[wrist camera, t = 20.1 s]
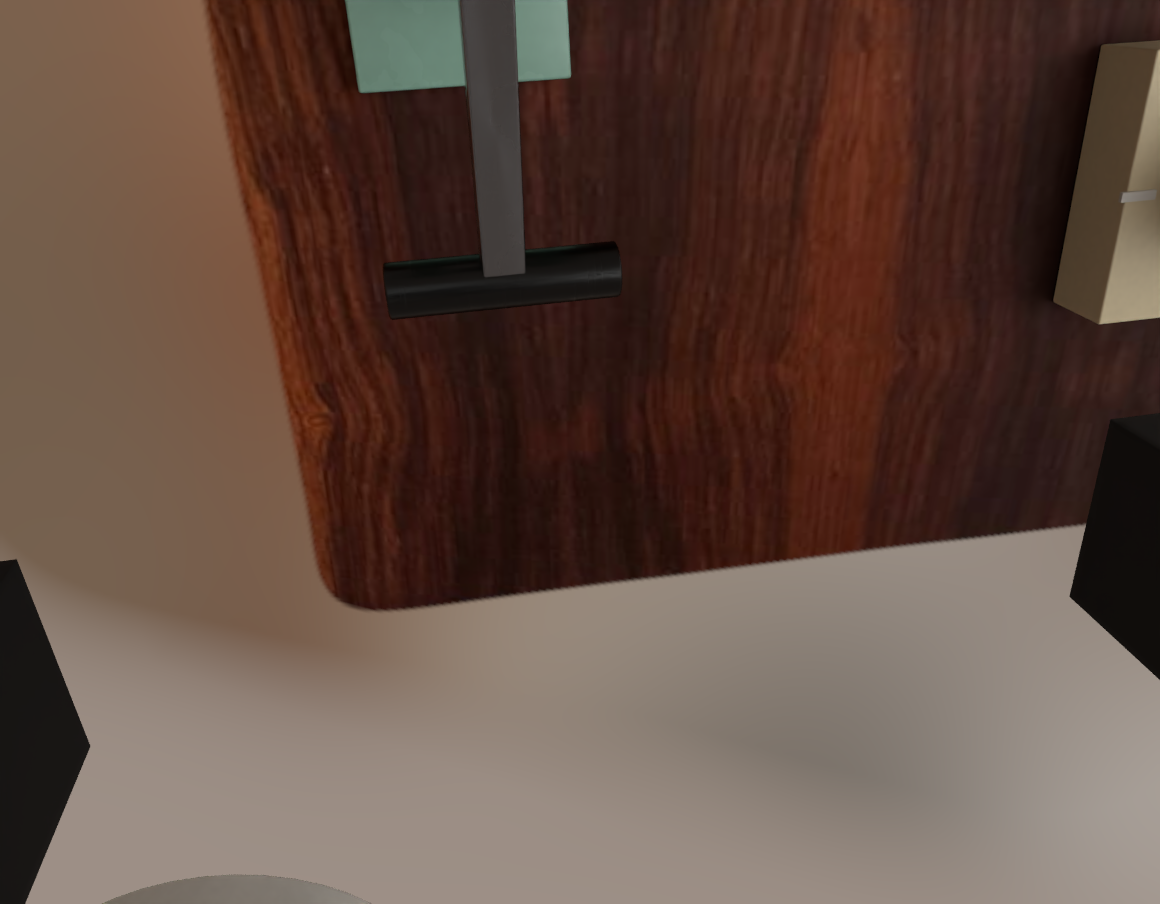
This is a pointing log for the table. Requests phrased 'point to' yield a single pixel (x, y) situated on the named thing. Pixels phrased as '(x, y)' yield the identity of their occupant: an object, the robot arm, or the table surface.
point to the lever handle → (498, 201)
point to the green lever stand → (446, 43)
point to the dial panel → (1117, 194)
